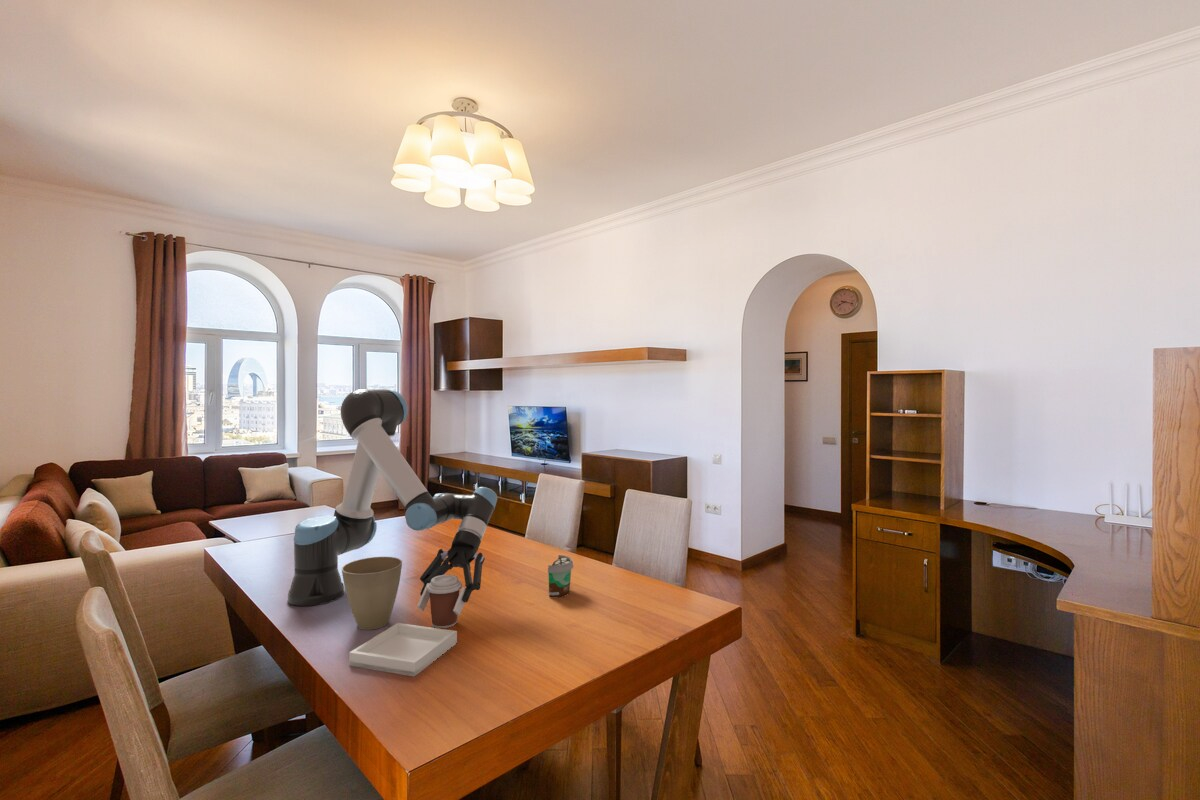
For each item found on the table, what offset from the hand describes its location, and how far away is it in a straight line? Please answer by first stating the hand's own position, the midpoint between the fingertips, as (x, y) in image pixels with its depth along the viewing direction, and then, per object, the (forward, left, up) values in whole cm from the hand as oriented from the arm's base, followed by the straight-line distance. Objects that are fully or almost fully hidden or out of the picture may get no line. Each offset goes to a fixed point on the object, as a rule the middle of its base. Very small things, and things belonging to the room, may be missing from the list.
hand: (438, 610), depth 145 cm
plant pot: (-18, -3, -5) cm, 19 cm away
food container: (+22, +34, -5) cm, 41 cm away
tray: (+1, -15, -4) cm, 16 cm away
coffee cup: (0, +3, -5) cm, 6 cm away
